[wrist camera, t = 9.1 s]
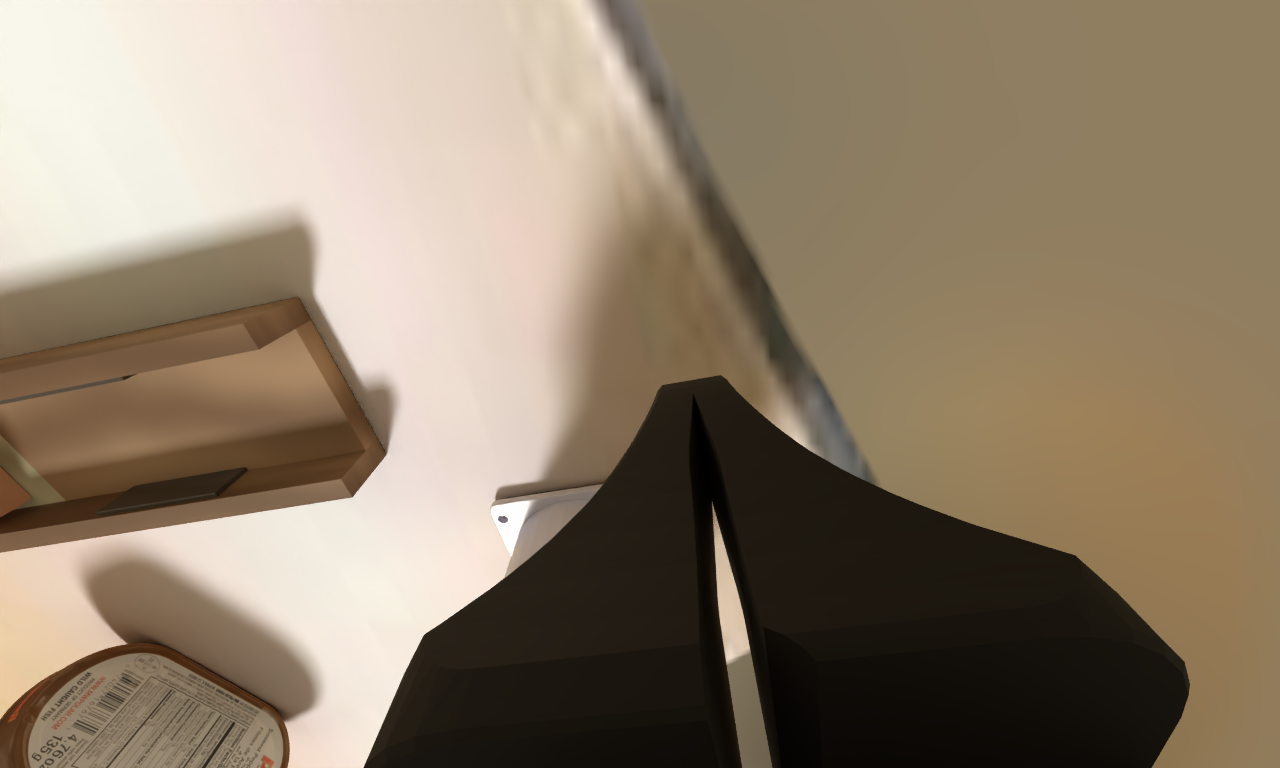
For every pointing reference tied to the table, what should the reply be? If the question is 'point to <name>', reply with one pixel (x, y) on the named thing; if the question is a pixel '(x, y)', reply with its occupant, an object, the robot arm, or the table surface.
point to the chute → (179, 427)
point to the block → (10, 494)
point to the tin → (140, 717)
